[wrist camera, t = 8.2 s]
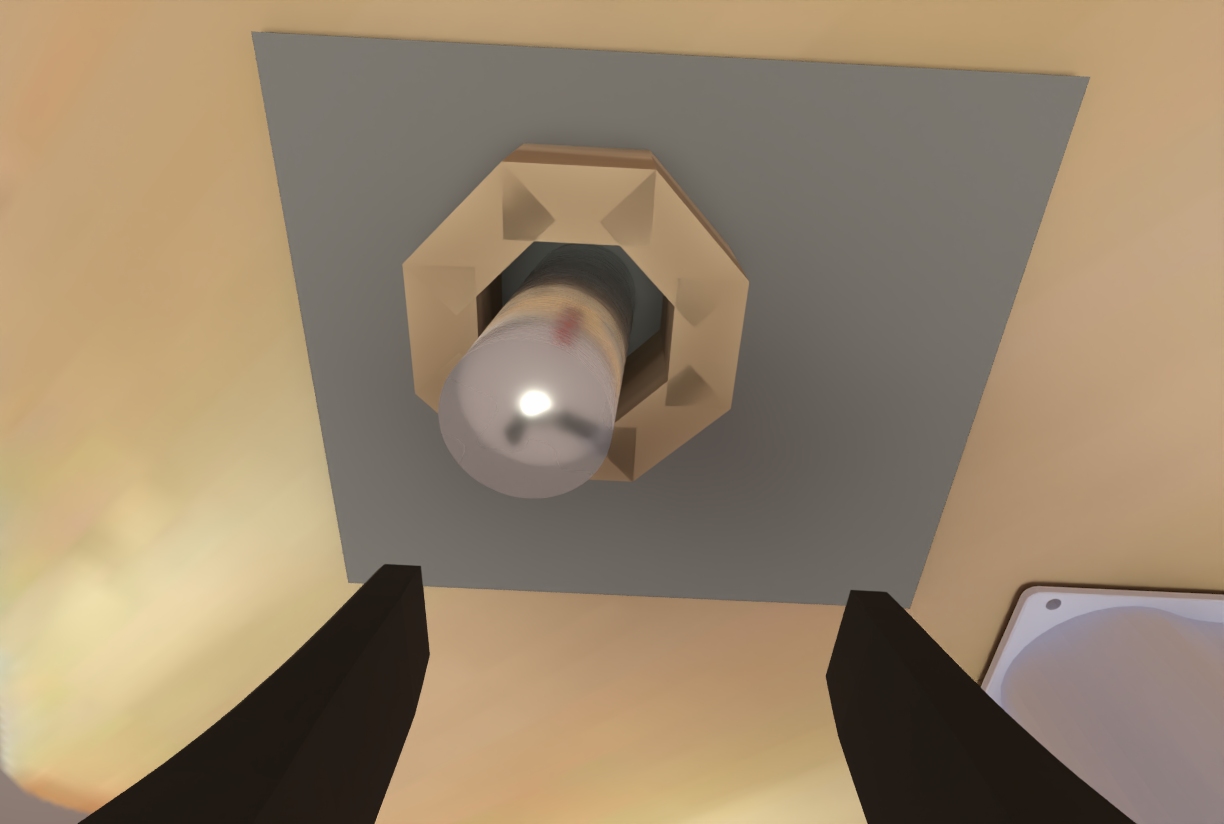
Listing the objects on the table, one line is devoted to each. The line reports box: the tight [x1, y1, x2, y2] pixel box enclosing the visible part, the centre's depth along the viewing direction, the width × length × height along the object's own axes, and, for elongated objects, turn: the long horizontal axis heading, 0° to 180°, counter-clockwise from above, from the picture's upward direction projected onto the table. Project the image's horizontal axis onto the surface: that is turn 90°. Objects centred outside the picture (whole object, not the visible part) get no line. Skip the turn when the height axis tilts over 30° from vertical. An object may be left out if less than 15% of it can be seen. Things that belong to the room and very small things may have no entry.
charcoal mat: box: [252, 32, 1090, 608], centre depth 20 cm, size 20×17×1 cm
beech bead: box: [402, 143, 749, 482], centre depth 17 cm, size 8×8×4 cm
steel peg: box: [438, 243, 636, 499], centre depth 15 cm, size 3×3×8 cm
